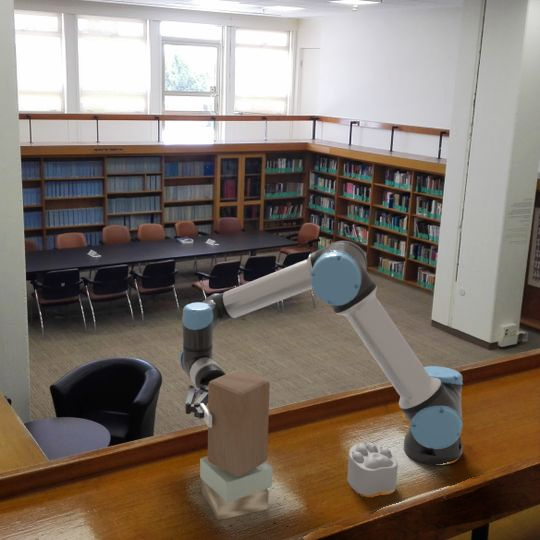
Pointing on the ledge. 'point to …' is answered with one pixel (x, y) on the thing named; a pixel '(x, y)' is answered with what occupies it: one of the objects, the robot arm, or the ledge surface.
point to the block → (238, 422)
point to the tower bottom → (235, 503)
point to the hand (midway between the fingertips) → (239, 417)
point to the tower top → (235, 480)
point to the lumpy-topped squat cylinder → (371, 469)
